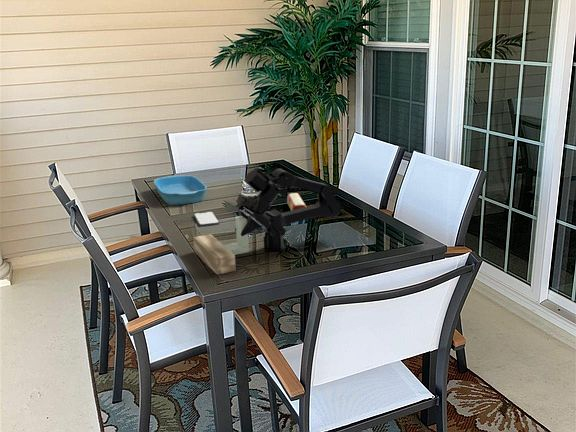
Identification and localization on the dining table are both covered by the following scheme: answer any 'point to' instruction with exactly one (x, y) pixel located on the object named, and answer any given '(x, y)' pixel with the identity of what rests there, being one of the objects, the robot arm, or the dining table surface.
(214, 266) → the beige u-shaped channel
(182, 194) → the casserole dish
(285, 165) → the dining table surface
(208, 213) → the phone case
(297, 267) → the dining table surface
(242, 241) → the sage green flanged block
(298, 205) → the snack package
